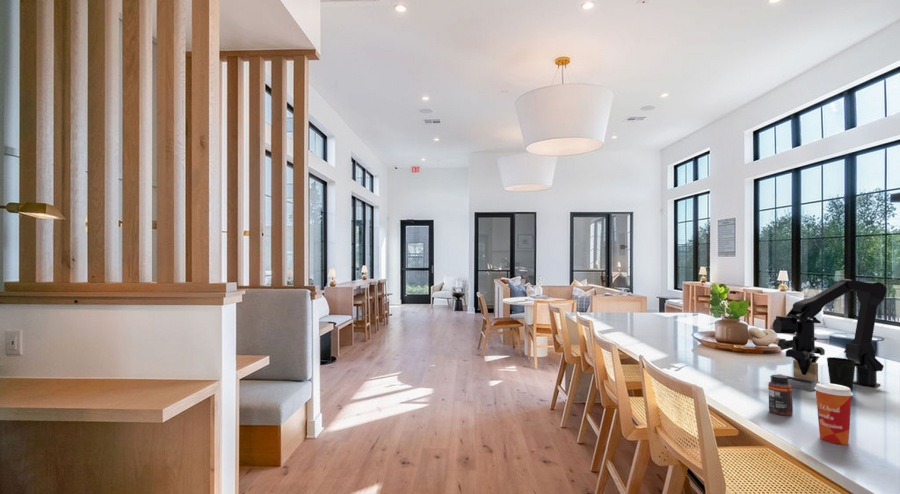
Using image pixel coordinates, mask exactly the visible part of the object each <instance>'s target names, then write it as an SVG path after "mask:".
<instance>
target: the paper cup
mask: <svg viewBox="0 0 900 494" xmlns="http://www.w3.org/2000/svg"><path fill="white" fill-rule="evenodd" d="M814 389H815V390H814V391H815V397H816V408H817V409H816V410H817V422H818V431H819V438H820V439H821V440H822V441H824V442H826V443H830V444H834V445H839V446H840V445H841V446H846V445H848V444H849V440H850V439H849V438H850V426H851V409H852V407H851V406H852V396H854V393H853V391H852V392H851V389H850V388H848V387H846V386H842V385H837V384H831V383H830V382H828V383H827V382H826V383H825V382H820V384H819V383H817V384H816V387H815V388H814Z"/></svg>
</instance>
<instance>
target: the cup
mask: <svg viewBox="0 0 900 494" xmlns="http://www.w3.org/2000/svg"><path fill="white" fill-rule="evenodd" d="M826 362H827V369H828V377H829V383H831V384H837V385H842V386H846V387H848V388H850V389H851V392H852V393H853V389H854V383H853V382H854V381H855V373H856V366H855V361H854V360H850V359H847V358H846V357H831V356H830V357H826Z"/></svg>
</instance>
